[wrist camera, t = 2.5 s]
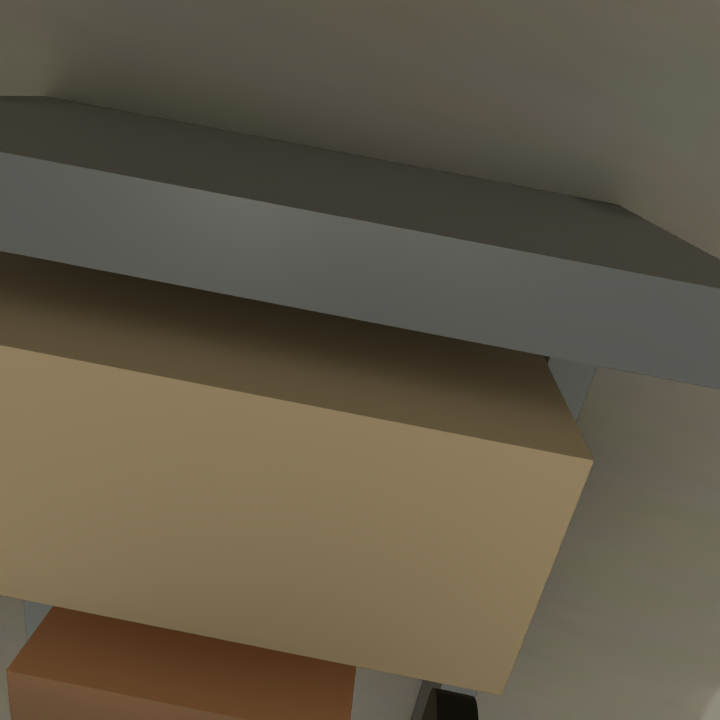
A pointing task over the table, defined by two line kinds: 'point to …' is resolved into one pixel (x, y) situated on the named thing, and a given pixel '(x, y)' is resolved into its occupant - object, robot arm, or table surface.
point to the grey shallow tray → (358, 245)
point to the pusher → (165, 676)
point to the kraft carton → (277, 473)
